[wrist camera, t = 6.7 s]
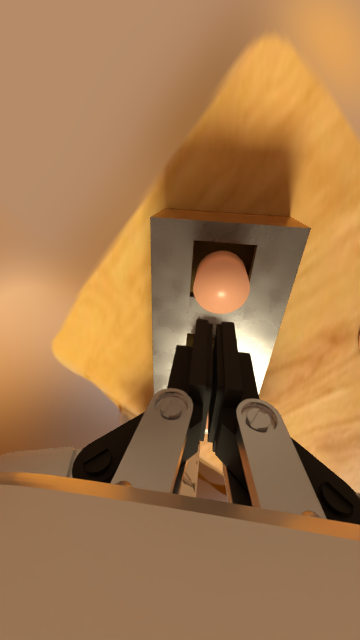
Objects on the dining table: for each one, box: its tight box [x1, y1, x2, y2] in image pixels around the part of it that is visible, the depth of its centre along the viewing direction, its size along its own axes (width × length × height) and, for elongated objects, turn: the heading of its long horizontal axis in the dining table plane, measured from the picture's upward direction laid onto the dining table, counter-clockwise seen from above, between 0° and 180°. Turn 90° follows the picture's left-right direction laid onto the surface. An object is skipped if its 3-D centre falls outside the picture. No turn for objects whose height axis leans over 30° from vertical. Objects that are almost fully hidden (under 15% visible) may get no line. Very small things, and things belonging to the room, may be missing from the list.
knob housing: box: [150, 209, 311, 434], centre depth 27 cm, size 12×26×6 cm, turn 177°
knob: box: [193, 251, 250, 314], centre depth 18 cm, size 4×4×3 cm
